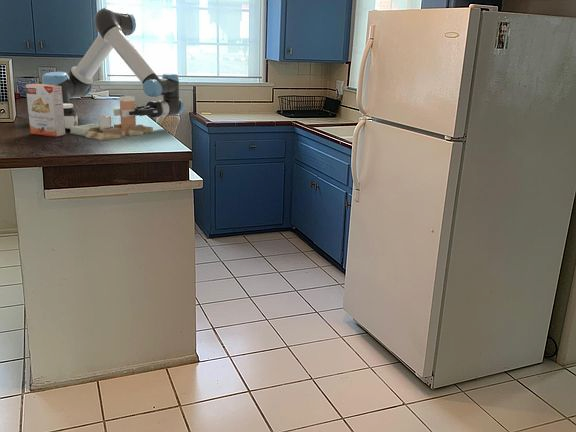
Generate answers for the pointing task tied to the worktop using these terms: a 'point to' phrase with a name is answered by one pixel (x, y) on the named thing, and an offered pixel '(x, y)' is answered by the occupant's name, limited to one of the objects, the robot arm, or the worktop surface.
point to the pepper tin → (104, 122)
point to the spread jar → (69, 117)
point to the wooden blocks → (117, 132)
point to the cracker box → (45, 109)
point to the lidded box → (127, 104)
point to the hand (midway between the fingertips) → (118, 113)
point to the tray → (82, 129)
